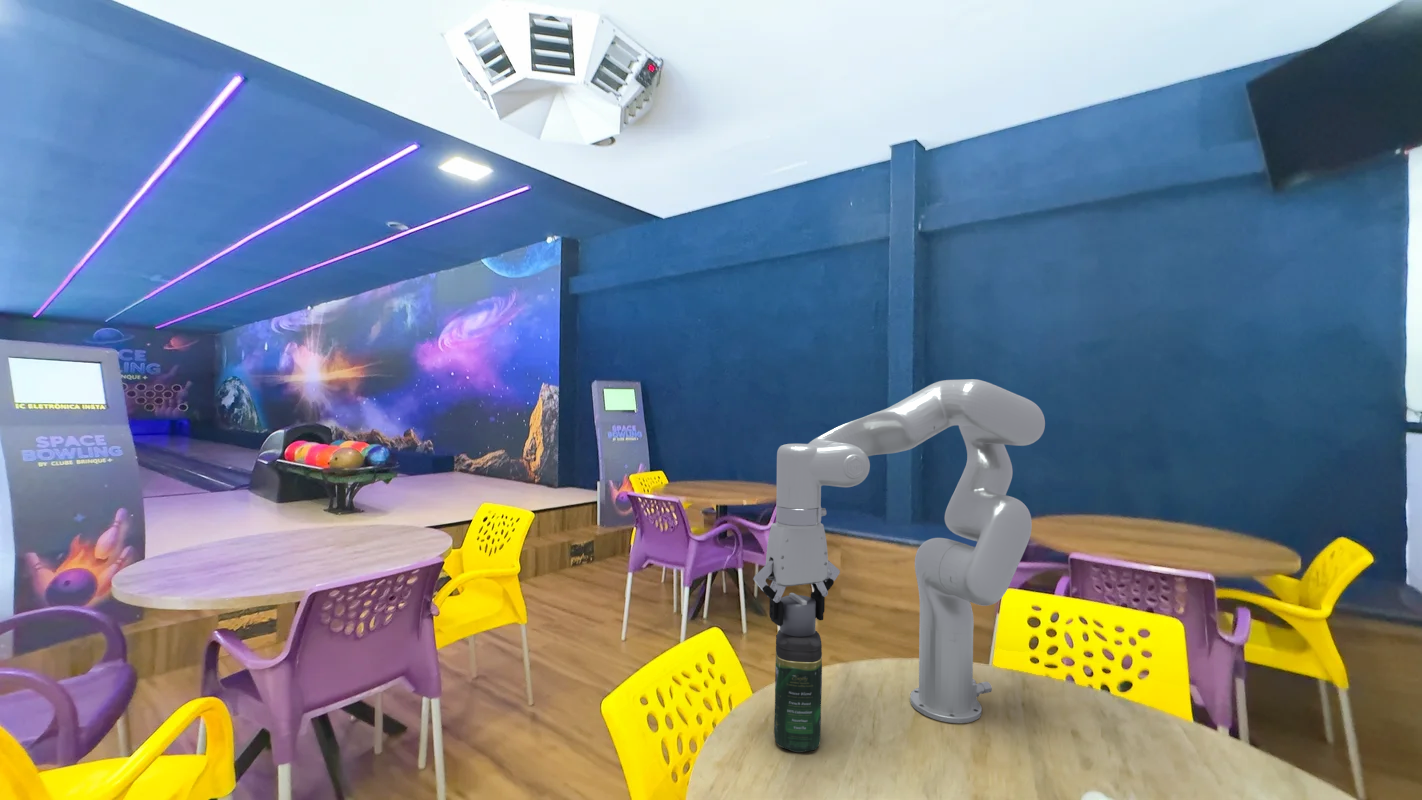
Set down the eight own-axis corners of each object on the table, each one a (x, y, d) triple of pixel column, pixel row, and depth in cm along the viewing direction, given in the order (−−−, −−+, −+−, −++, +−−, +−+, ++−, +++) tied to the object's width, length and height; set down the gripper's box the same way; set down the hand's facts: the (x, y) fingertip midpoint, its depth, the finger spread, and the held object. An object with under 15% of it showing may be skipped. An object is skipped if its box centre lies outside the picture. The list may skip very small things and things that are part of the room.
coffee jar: (822, 756, 98) (824, 642, 98) (773, 752, 99) (775, 639, 99) (819, 725, 108) (820, 620, 108) (774, 721, 109) (775, 618, 109)
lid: (774, 625, 105) (774, 593, 106) (804, 621, 108) (805, 590, 108) (789, 638, 100) (790, 604, 100) (821, 634, 102) (822, 600, 102)
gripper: (830, 509, 110) (829, 607, 110) (742, 515, 104) (741, 619, 104) (854, 517, 103) (853, 621, 103) (762, 523, 97) (760, 635, 97)
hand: (797, 619), depth 104 cm, fingers open, 7 cm apart
